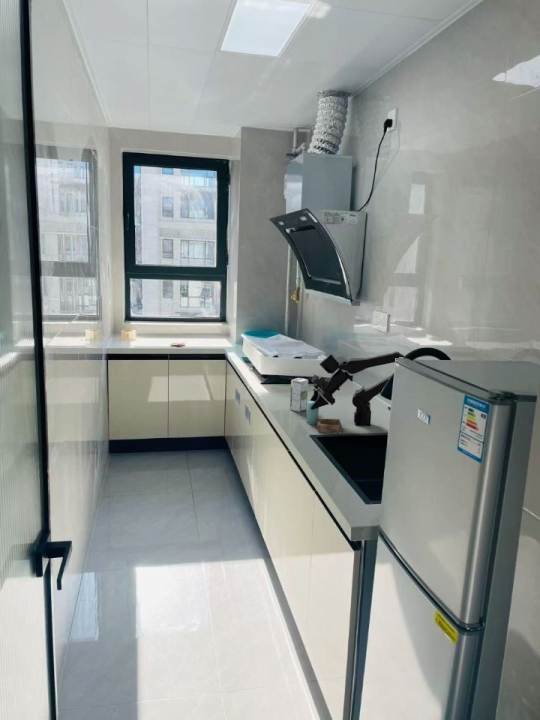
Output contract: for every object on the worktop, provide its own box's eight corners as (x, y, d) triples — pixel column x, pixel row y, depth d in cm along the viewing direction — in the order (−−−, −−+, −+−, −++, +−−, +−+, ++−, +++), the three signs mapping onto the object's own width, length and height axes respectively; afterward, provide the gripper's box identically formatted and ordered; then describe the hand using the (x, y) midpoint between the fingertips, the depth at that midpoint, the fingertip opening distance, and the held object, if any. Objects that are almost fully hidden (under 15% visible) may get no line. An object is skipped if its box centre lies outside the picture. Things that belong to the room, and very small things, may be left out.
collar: (339, 426, 233) (339, 419, 232) (341, 432, 224) (341, 425, 223) (316, 425, 233) (317, 418, 233) (318, 432, 224) (318, 424, 223)
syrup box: (297, 407, 261) (298, 377, 259) (307, 409, 258) (308, 379, 255) (289, 409, 257) (290, 379, 255) (300, 412, 253) (301, 381, 251)
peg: (317, 421, 239) (318, 401, 238) (318, 424, 235) (319, 403, 233) (306, 420, 240) (306, 400, 238) (306, 424, 235) (307, 403, 233)
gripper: (318, 364, 243) (292, 389, 243) (328, 372, 224) (301, 399, 225) (335, 382, 245) (309, 406, 245) (346, 391, 227) (319, 418, 227)
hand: (309, 407), depth 236 cm, fingers open, 6 cm apart
